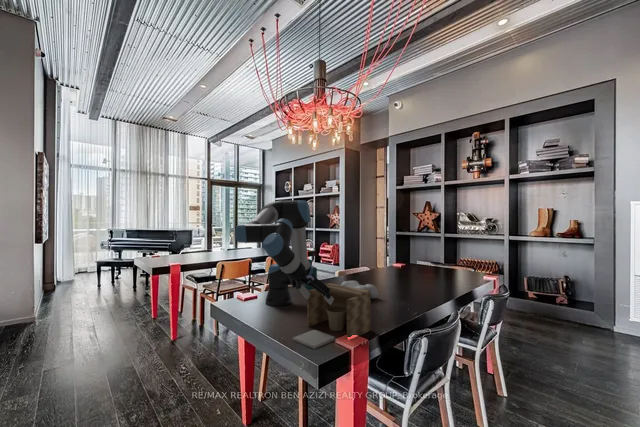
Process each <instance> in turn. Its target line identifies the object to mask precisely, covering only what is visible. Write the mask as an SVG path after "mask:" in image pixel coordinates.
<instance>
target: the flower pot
mask: <svg viewBox="0 0 640 427" xmlns="http://www.w3.org/2000/svg"><path fill="white" fill-rule="evenodd" d="M326 311H327V314H328V320H327V321H328V327H329V329H330V330H331V331H333V332H338V331H343V330H344V328H345V324H344V320H345V314H346V311H347V309H346V308H344V307H339V306H332V307H328V308H326Z"/></svg>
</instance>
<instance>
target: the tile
mask: <svg viewBox="0 0 640 427" xmlns="http://www.w3.org/2000/svg"><path fill="white" fill-rule="evenodd" d="M292 338H293V339H292V340H293V341H295V342H296V343H299V344H302V345H304V346H306V347H309V348H311V349H314V350H315V349H317V348H319V347H322V346H324V345H326V344H328V343H330V342H332V341H335V340H336V336H334V335H331V334H328V333H325V332H323V331H320V330H317V329H312V330H310V331H309V330H308V331H306V332H304V333H301V334H298V335H297V336H293V337H292Z"/></svg>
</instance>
